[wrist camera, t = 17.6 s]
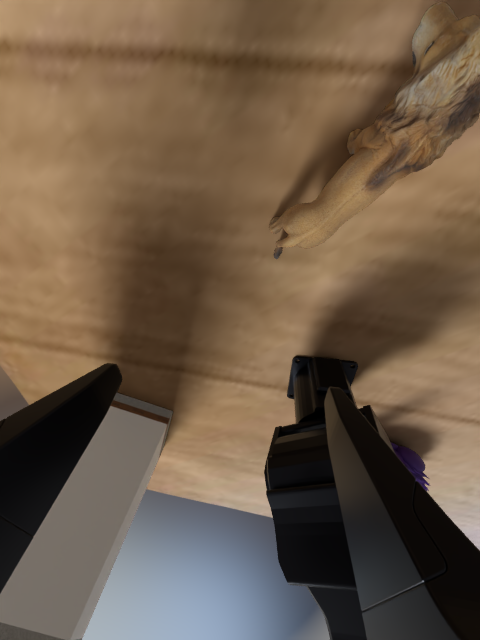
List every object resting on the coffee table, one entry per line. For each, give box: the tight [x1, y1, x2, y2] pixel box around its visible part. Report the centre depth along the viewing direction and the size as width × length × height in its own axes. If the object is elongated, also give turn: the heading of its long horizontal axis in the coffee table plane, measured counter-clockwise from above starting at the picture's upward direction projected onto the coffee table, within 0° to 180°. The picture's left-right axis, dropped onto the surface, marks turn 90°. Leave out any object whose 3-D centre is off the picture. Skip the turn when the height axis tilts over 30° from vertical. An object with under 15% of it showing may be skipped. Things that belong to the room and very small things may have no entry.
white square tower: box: [0, 393, 173, 640], centre depth 21 cm, size 11×11×35 cm
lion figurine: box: [269, 2, 480, 259], centre depth 12 cm, size 12×4×7 cm, turn 147°
